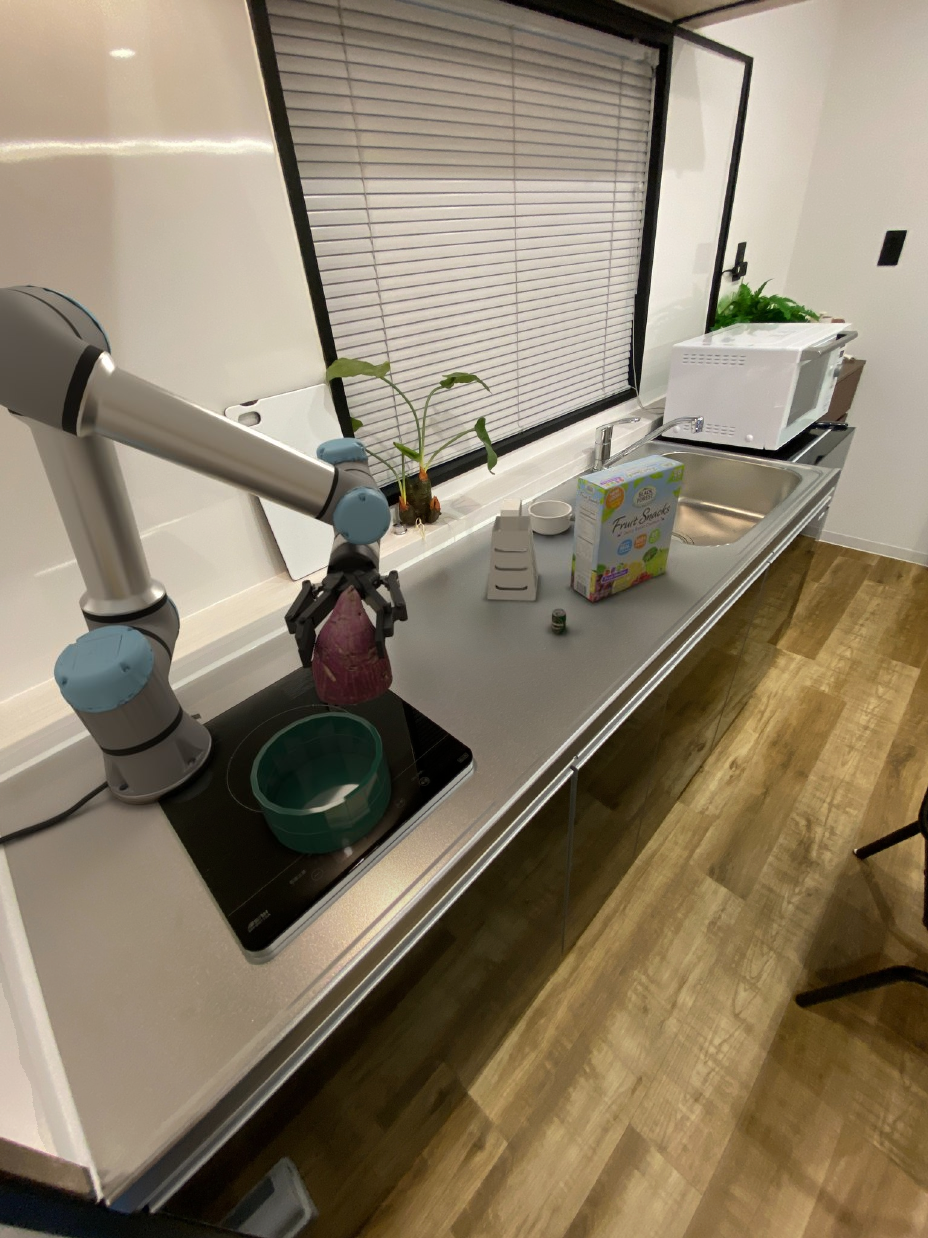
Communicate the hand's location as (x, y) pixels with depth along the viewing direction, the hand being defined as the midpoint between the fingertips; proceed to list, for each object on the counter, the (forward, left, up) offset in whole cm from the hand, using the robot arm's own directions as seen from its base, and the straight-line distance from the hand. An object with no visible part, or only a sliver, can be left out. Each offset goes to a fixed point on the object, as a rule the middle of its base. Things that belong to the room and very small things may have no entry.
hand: (342, 654), depth 63 cm
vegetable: (+1, +5, -8) cm, 9 cm away
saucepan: (+72, +55, -26) cm, 94 cm away
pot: (-6, +3, -26) cm, 27 cm away
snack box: (+67, +27, -26) cm, 76 cm away
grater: (+46, +38, -26) cm, 65 cm away
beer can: (+45, +19, -26) cm, 55 cm away
